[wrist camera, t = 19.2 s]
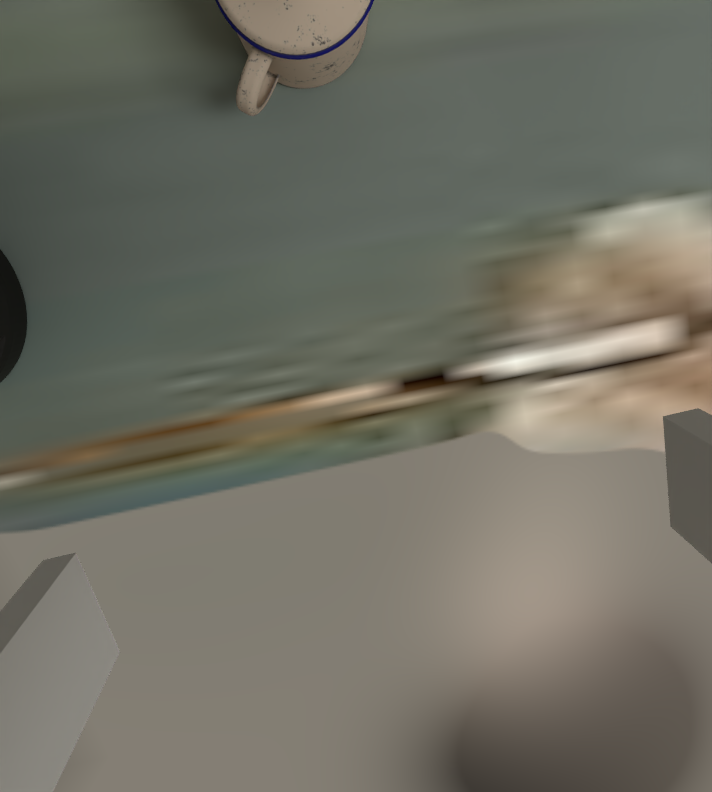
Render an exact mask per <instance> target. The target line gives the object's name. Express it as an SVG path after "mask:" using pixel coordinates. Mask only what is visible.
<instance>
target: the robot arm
mask: <svg viewBox="0 0 712 792" xmlns="http://www.w3.org/2000/svg"><path fill="white" fill-rule="evenodd" d="M26 330H27V312H26V305H25V300H24V295H23V292H22V289H21V286H20V283H19V281H18V278H17V276H16V274H15V272H14V270H13V268H12V266H11V265H10V263H9V261H8V260H7V258H6V257H5V255H4V254H3V252H2V251H1V250H0V382H1V381H2V380H4V379H5V378H6V376H7V375H8V374H9V373H10V372H11V370H12V369H13V367H14V366H15V364H16V363H17V361H18V359H19V357H20V354H21V352H22V349H23V346H24V342H25V337H26ZM663 423H664V437H665V452H666V466H667V480H668V496H669V509H670V524H671V527H672V528H673V529H674V530H675V531H676V532H677V533H679V534H680V535H681V536H682V537H683V538H684V539H685V540H686V541H688V542H689V543H690V544H691V545H692V546H693V547H694V548H695V549H696V550H698V551H699V552H700V553H701V554H702V555H703V556H704V557H705V558H707V560H709V561H710V562H711V563H712V415H710V414H708V413H706V412H704V411H702V410H700V409H693V410H689V411H685V412H680V413H676V414H672V415H667V416H663ZM119 653H120V650H119V648H118V646H117V644H116V641H115V639H114V637H113V635H112V633H111V630H110V628H109V626H108V623H107V621H106V619H105V617H104V614H103V612H102V610H101V608H100V606H99V603H98V601H97V599H96V596H95V594H94V592H93V589H92V588H91V585H90V583H89V580H88V578H87V576H86V574H85V571H84V569H83V567H82V565H81V562H80V560H79V558H78V556H77V554H76V553H73V554H69V555H64V556H60V557H55V558H51V559H47V560H43V561H42V562H41V563H40V564H39V566H38V567H37V568H36V569H35V571H34V572H33V573H32V574H31V576H30V577H29V578H28V579H27V580H26V581H25V582H24V584H23V585H22V586H21V587H20V589H19V590H18V591H17V592H16V593H15V594H14V596H13V597H12V598H11V599H10V600H9V602H8V603H7V604H6V605H5V607H4V608H3V609H2V610H1V612H0V792H53V791H54V788H55V787H56V784H57V782H58V780H59V778H60V776H61V774H62V772H63V770H64V768H65V766H66V763H67V761H68V759H69V757H70V755H71V753H72V751H73V749H74V747H75V745H76V742H77V741H78V738H79V736H80V734H81V732H82V730H83V728H84V726H85V724H86V722H87V720H88V718H89V715H90V713H91V711H92V709H93V707H94V705H95V703H96V701H97V699H98V697H99V695H100V692H101V690H102V688H103V686H104V684H105V682H106V680H107V678H108V676H109V674H110V672H111V669H112V667H113V665H114V663H115V661H116V659H117V657H118V655H119Z"/></svg>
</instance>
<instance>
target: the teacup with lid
mask: <svg viewBox="0 0 712 792" xmlns="http://www.w3.org/2000/svg"><path fill="white" fill-rule="evenodd" d="M215 1H216V3H217V5H218V7H219V9H220V11H221V12H222V14H223V16H224V17H225V19H226V20H227V21H228V23H229V24H230V25H231V27H232V28H233V29H234V30H235V31H236V32H237V34H238V36H239V38H240V40H241V42H242V44H243V46H244V48H245V50H246V52H247V54H248V55H249V56H248V58H247V61H246V63H245V66H244V68H243V71H242V74H241V77H240V80H239V84H238V88H237V93H236V103H237V106H238V108H239V109H240V110H241V111H242V112H244V113H246V114H248V115H250V116H254V115H257V114H258V113H259V112H260V111H261V110H262V109H263V108H264V107H265V105H266V104H267V102H268V100H269V98H270V96H271V94H272V92H273V90H274V88H275V86H276V84H277V82H279V83H281V84H283V85H286V86H290V87H294V88H314V87H318V86H322V85H325V84H327V83H329V82H331V81H333V80H335V79H336V78H338V77H339V76H340V75H341V74H343V73H344V72H345V71H346V70H347V69H348V68H349V67H350V65H351V64H352V63H353V61H354V60H355V58H356V57H357V55H358V53H359V51H360V49H361V46H362V44H363V41H364V37H365V33H366V28H367V22H368V16H369V11H370V9H371V6H372V4H373V1H374V0H215Z"/></svg>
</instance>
